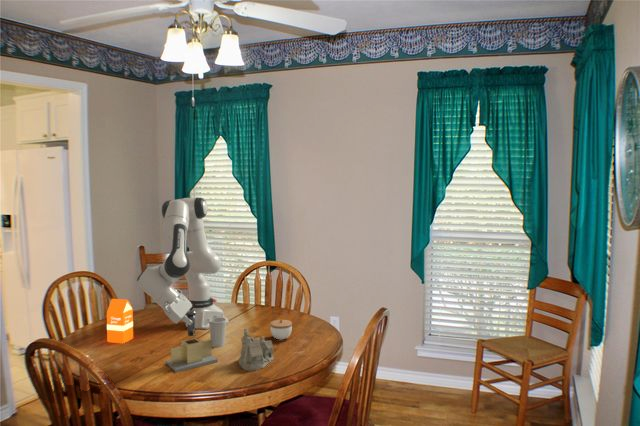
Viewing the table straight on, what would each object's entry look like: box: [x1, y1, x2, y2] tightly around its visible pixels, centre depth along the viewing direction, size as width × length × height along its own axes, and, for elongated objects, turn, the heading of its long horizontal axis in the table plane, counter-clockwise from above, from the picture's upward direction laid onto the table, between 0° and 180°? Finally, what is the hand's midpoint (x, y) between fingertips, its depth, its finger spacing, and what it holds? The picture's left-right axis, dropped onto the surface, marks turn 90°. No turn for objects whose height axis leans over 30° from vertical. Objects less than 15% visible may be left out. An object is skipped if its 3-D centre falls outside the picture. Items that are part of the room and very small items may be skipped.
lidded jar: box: [269, 319, 293, 340], centre depth 225 cm, size 11×11×9 cm
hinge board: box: [165, 355, 218, 373], centre depth 194 cm, size 18×11×1 cm, turn 128°
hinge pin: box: [186, 310, 196, 337], centre depth 192 cm, size 4×4×10 cm
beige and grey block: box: [170, 337, 213, 365], centre depth 193 cm, size 18×7×8 cm, turn 128°
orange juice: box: [106, 298, 134, 344], centre depth 219 cm, size 8×9×20 cm
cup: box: [209, 317, 227, 348], centre depth 215 cm, size 8×8×12 cm
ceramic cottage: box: [238, 327, 275, 372], centre depth 195 cm, size 16×16×15 cm
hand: (192, 322), depth 193 cm, fingers closed on hinge pin, 3 cm apart
